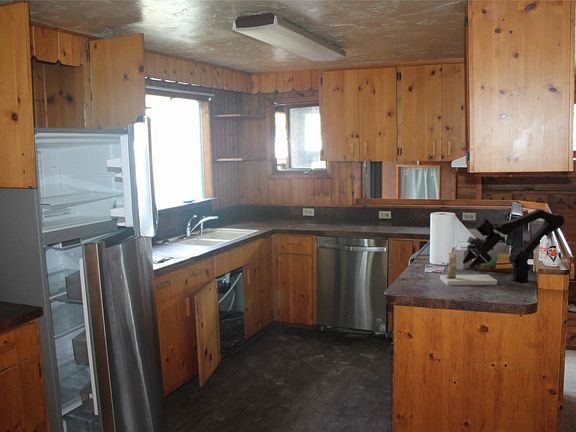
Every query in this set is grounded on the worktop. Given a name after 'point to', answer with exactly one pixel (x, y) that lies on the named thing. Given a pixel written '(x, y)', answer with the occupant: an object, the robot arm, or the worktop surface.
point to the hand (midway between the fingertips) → (466, 265)
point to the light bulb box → (461, 257)
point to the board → (469, 280)
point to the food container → (491, 265)
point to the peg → (452, 266)
